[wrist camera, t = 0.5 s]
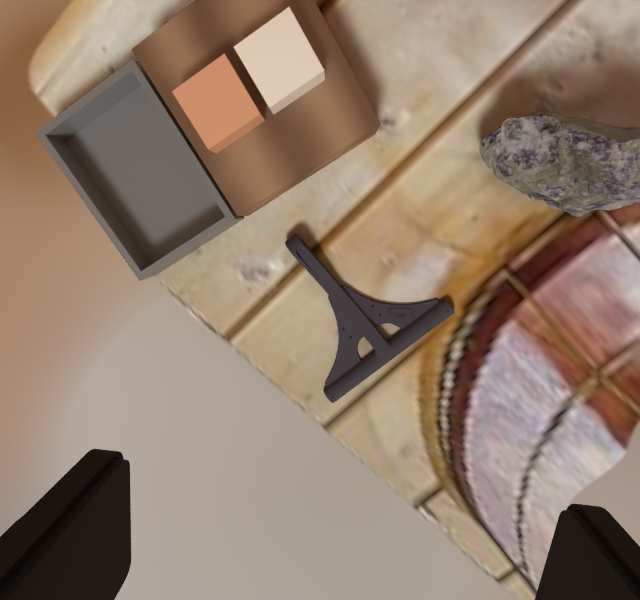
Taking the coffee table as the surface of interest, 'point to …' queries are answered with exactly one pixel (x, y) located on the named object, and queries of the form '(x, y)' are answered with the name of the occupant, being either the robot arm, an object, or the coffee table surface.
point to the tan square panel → (261, 98)
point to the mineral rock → (566, 161)
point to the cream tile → (280, 61)
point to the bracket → (366, 324)
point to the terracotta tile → (218, 104)
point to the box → (138, 172)
